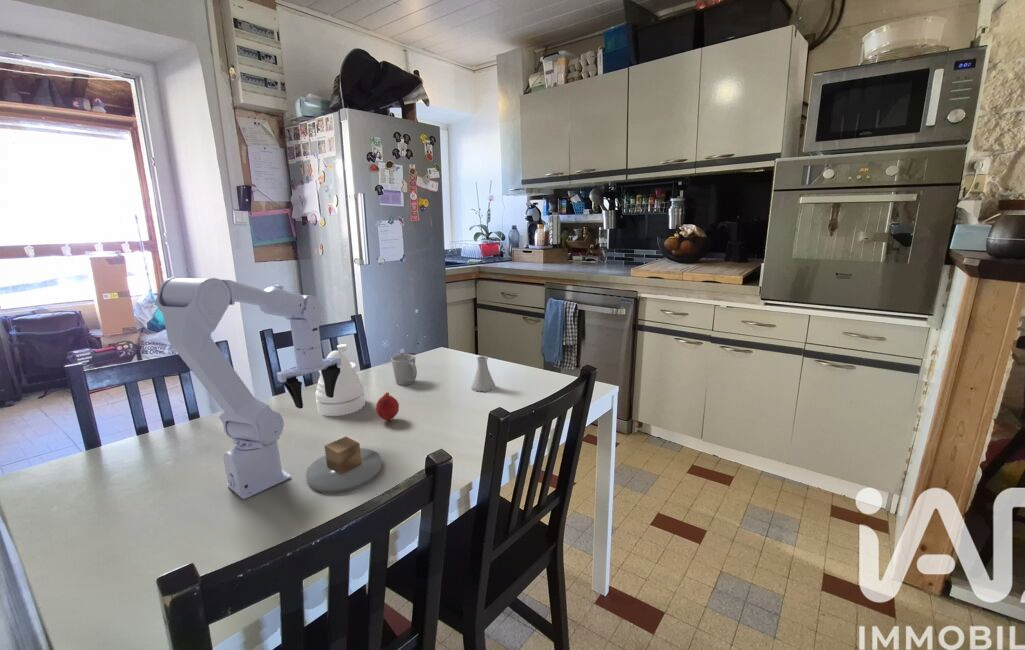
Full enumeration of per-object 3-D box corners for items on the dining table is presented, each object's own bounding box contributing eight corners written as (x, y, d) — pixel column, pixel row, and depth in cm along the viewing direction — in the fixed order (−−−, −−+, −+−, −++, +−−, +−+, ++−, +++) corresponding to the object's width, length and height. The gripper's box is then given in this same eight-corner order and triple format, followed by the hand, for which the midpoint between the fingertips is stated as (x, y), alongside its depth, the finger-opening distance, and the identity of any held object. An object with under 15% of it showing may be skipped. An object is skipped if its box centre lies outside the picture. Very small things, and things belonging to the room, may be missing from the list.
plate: (332, 502, 88) (331, 495, 87) (293, 476, 97) (292, 469, 96) (396, 467, 99) (395, 461, 99) (355, 447, 108) (355, 441, 108)
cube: (340, 474, 94) (337, 452, 93) (327, 467, 97) (324, 445, 96) (361, 464, 98) (359, 443, 97) (348, 457, 101) (345, 436, 100)
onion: (393, 426, 118) (391, 397, 116) (373, 425, 119) (370, 396, 118) (403, 416, 124) (401, 389, 122) (383, 415, 125) (381, 387, 123)
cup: (408, 376, 154) (406, 352, 152) (426, 383, 148) (424, 358, 146) (388, 383, 149) (386, 358, 147) (406, 390, 142) (404, 364, 140)
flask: (481, 382, 148) (480, 352, 145) (499, 386, 144) (498, 356, 141) (466, 389, 142) (465, 358, 140) (485, 394, 138) (483, 362, 136)
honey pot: (364, 395, 139) (358, 338, 135) (365, 411, 128) (358, 349, 123) (319, 401, 136) (311, 342, 131) (315, 419, 124) (307, 355, 119)
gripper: (284, 357, 97) (293, 416, 101) (345, 342, 108) (351, 395, 112) (269, 352, 102) (278, 409, 105) (329, 337, 113) (335, 389, 116)
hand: (315, 401), depth 109 cm, fingers open, 7 cm apart
